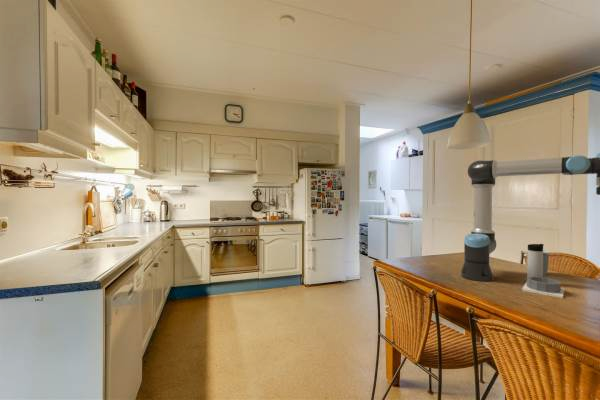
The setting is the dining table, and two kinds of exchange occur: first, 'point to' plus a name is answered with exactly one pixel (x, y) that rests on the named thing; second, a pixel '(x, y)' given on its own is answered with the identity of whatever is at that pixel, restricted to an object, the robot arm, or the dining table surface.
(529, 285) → the cup holder
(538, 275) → the travel mug
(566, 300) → the dining table surface
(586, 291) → the dining table surface
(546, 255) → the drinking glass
